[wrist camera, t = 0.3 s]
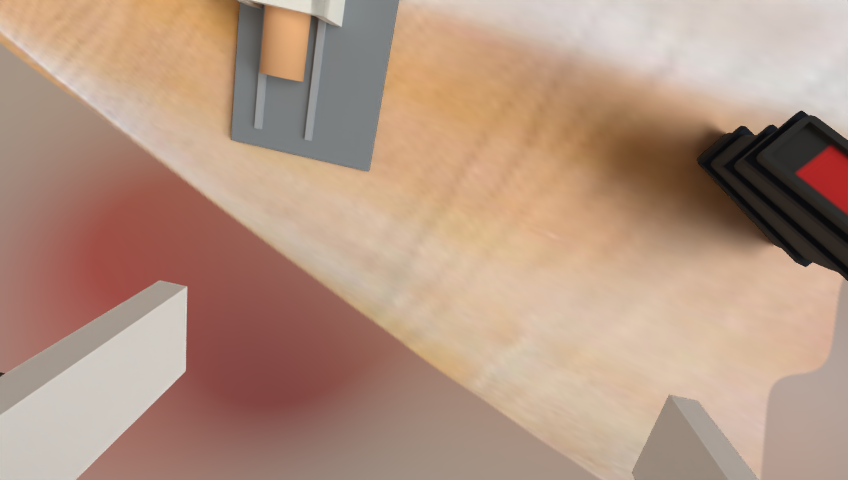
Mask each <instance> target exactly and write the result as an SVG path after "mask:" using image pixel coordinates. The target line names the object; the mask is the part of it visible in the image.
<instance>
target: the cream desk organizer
mask: <svg viewBox="0 0 848 480" xmlns="http://www.w3.org/2000/svg"><path fill="white" fill-rule="evenodd" d="M237 1H239V2H242V3H244V4H246V5H249V6H251V7H255V8H260V9H262V6H263V5H268V6H272V7H277V8H281V9H285V10H290V11H294V12H299V13H303V14H307V15H312V16H316V17H318V18H319V19H321V20H323V21H325V22H327V23H328V24H330V25H334V26H339V27H342V21H343V13H344V6H345V0H237Z"/></svg>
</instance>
